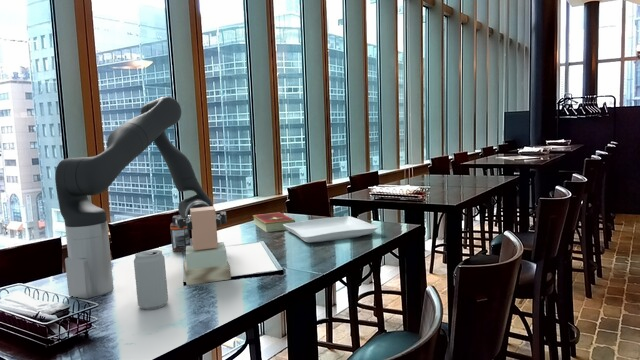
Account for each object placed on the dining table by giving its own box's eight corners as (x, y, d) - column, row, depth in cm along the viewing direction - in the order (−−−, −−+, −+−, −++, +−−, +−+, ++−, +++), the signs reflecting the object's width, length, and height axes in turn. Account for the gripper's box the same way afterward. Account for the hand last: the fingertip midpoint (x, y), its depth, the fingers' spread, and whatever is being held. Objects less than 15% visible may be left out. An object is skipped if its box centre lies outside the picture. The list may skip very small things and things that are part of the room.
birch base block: (186, 287, 120) (185, 271, 120) (184, 275, 131) (183, 261, 130) (231, 280, 124) (230, 265, 123) (225, 269, 134) (224, 255, 134)
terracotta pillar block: (194, 250, 123) (191, 211, 122) (192, 245, 129) (189, 208, 128) (218, 247, 125) (215, 209, 124) (215, 242, 130) (212, 206, 129)
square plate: (349, 224, 189) (349, 214, 189) (379, 237, 163) (379, 226, 163) (282, 232, 181) (282, 222, 180) (303, 247, 155) (303, 235, 154)
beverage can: (159, 311, 103) (154, 256, 102) (132, 310, 104) (127, 256, 103) (173, 300, 109) (169, 249, 108) (148, 300, 110) (143, 249, 109)
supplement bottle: (175, 247, 163) (172, 214, 162) (193, 247, 162) (190, 214, 161) (169, 252, 157) (166, 218, 156) (187, 251, 156) (184, 217, 155)
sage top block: (186, 270, 121) (185, 254, 121) (187, 260, 131) (186, 246, 130) (227, 265, 124) (226, 250, 123) (224, 256, 133) (223, 242, 133)
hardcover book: (280, 221, 204) (280, 211, 204) (296, 229, 185) (295, 219, 184) (253, 224, 200) (252, 214, 200) (265, 233, 181) (265, 222, 180)
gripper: (172, 204, 137) (174, 212, 121) (223, 199, 141) (231, 207, 125) (174, 230, 138) (176, 241, 122) (225, 224, 142) (233, 235, 126)
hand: (204, 224), depth 124 cm, fingers closed on terracotta pillar block, 6 cm apart
